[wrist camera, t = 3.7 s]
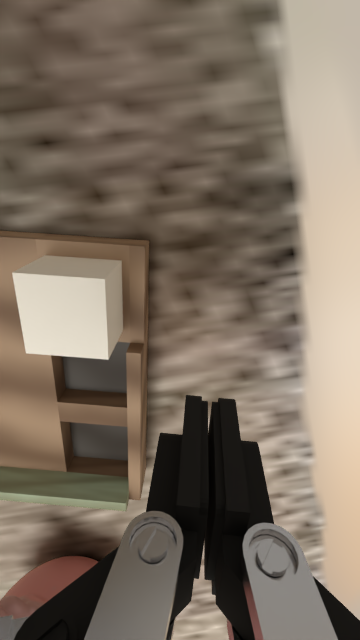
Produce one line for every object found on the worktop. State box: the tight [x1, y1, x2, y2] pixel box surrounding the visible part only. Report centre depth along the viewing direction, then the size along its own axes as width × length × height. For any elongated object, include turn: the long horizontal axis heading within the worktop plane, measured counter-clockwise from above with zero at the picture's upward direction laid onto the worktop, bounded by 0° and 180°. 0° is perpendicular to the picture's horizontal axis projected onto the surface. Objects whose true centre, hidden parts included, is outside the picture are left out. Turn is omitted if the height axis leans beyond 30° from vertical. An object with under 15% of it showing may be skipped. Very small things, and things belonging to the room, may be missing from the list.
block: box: [12, 255, 123, 360], centre depth 20 cm, size 5×5×4 cm
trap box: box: [0, 231, 149, 511], centre depth 25 cm, size 22×15×4 cm
